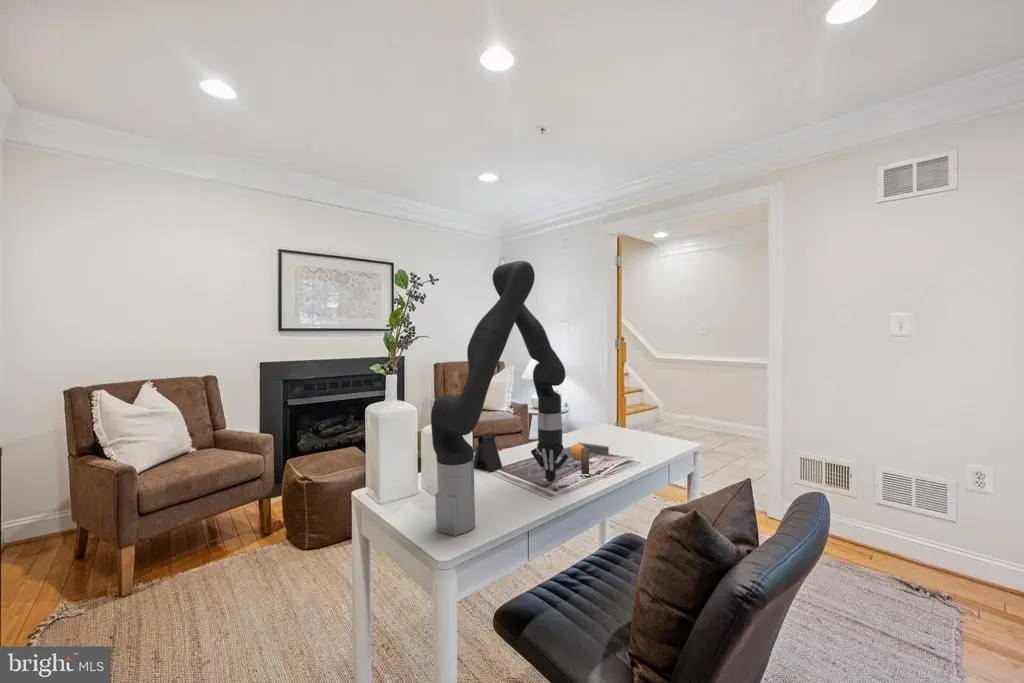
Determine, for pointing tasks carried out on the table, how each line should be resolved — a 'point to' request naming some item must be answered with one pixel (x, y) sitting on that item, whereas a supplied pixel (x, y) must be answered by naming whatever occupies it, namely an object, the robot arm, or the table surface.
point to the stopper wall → (596, 448)
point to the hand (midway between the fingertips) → (550, 481)
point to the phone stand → (487, 454)
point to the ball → (576, 451)
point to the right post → (585, 460)
